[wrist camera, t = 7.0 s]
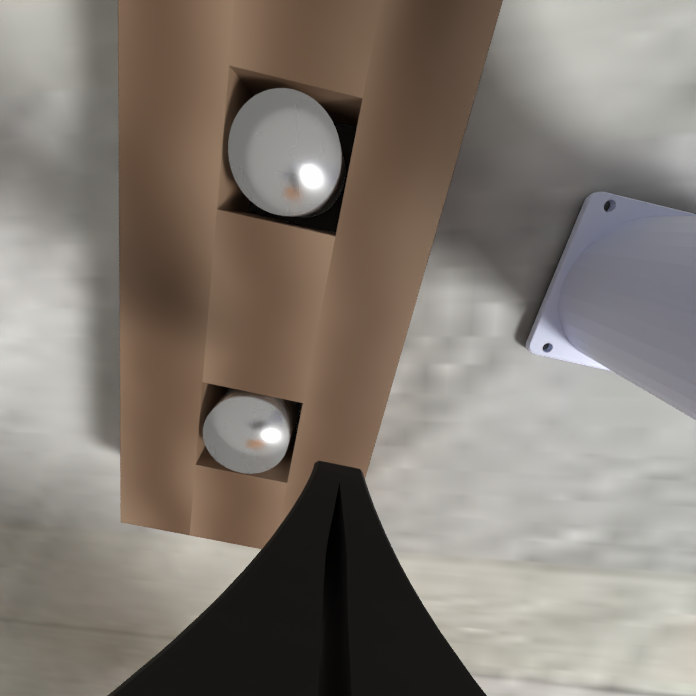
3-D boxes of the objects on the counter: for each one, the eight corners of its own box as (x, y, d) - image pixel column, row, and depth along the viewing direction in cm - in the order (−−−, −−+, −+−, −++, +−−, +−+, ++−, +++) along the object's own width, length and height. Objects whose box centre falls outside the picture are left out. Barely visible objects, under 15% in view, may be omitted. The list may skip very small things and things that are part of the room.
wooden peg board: (476, 19, 14) (518, -54, 11) (343, 508, 23) (340, 564, 19) (183, -56, 14) (117, -161, 10) (160, 471, 22) (120, 522, 19)
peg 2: (307, 374, 20) (294, 410, 16) (295, 434, 21) (281, 480, 17) (236, 359, 19) (206, 391, 16) (228, 420, 21) (199, 464, 17)
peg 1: (354, 132, 16) (351, 103, 12) (335, 226, 17) (328, 226, 13) (265, 111, 15) (234, 75, 12) (253, 207, 17) (222, 202, 13)
